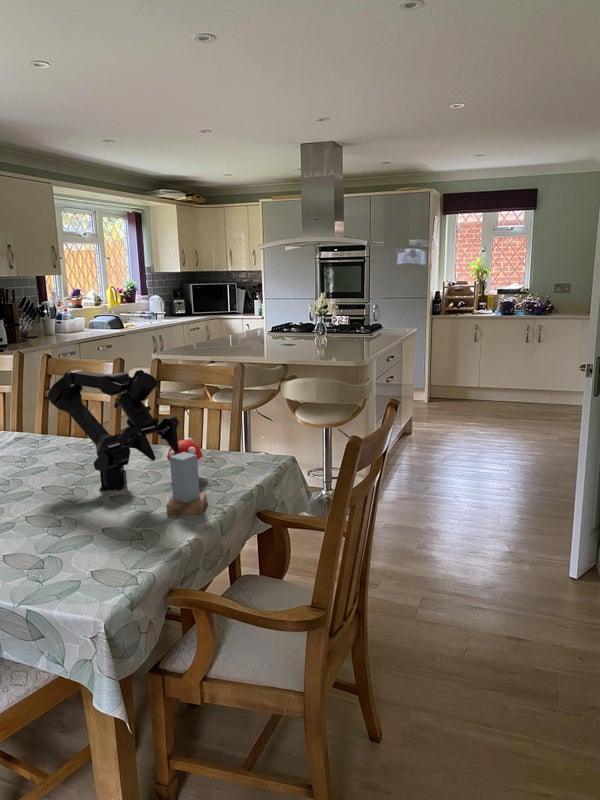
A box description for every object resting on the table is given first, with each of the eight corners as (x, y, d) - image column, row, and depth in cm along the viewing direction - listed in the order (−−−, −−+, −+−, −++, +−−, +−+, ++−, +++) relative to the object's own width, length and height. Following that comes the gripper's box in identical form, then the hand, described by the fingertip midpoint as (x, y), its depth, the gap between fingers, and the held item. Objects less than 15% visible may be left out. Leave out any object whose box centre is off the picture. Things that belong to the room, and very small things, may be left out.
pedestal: (167, 515, 158) (166, 505, 157) (174, 502, 166) (173, 492, 166) (201, 515, 157) (200, 505, 157) (206, 502, 166) (206, 492, 166)
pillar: (173, 499, 161) (169, 456, 158) (186, 493, 165) (183, 452, 162) (186, 503, 158) (183, 459, 155) (199, 497, 162) (196, 454, 159)
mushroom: (188, 485, 178) (186, 446, 175) (160, 479, 183) (158, 442, 181) (210, 474, 187) (208, 437, 185) (183, 469, 192) (181, 433, 190)
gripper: (145, 421, 178) (174, 464, 174) (95, 434, 162) (125, 480, 158) (165, 399, 172) (194, 442, 169) (115, 409, 156) (147, 457, 153)
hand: (166, 455), depth 163 cm, fingers open, 9 cm apart
